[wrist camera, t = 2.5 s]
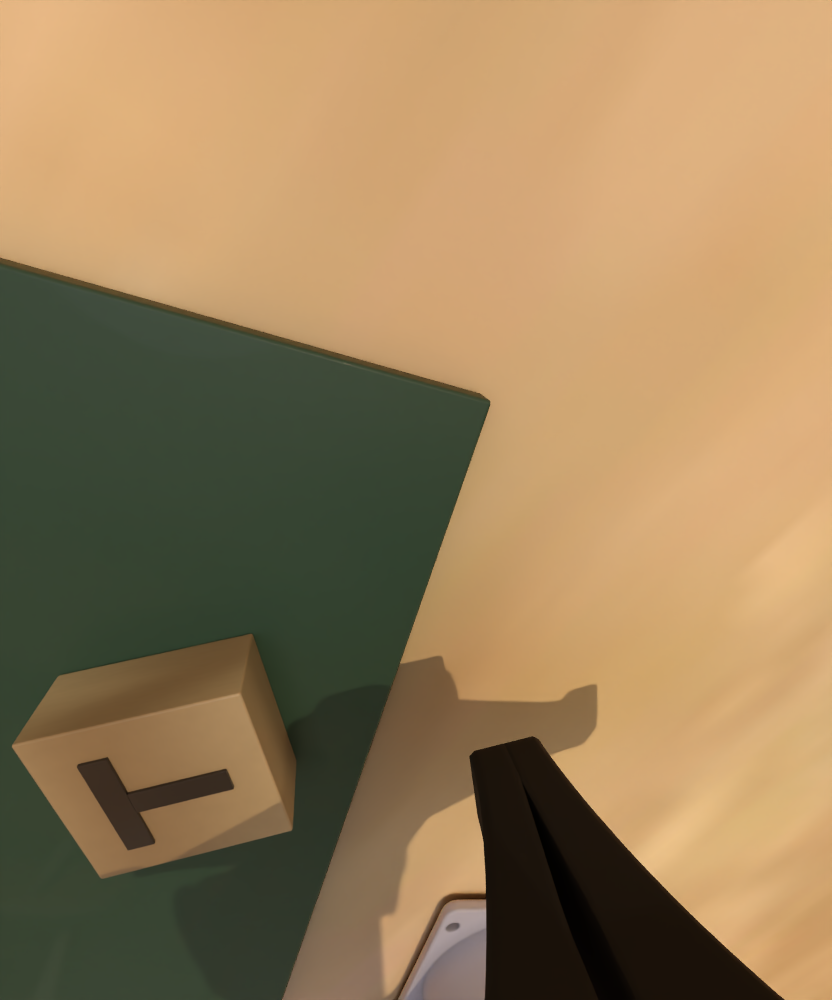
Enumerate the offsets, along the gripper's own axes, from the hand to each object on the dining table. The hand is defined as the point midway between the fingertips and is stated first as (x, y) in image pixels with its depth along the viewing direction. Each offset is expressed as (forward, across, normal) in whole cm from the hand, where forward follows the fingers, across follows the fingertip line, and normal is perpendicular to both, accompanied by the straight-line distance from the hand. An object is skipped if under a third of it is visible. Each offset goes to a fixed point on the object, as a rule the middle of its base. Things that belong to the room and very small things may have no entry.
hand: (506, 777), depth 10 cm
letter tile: (+4, +7, 0) cm, 8 cm away
